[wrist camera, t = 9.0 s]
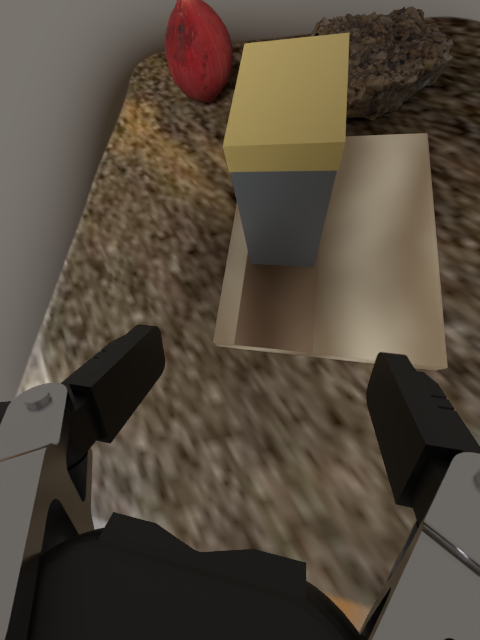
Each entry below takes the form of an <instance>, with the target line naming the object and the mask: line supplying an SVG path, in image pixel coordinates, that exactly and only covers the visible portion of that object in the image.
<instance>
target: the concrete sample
mask: <svg viewBox="0 0 480 640" xmlns="http://www.w3.org/2000/svg"><path fill="white" fill-rule="evenodd" d="M423 17H424V12H423V11H422V10H419V9H415V8H414V7H408V8H407V9H405V7H403V8H402V9H400V10H394V11H393V12H391V13H390V14H389V15H382V14H380V15H377V14H376V13H375V12H374V13H372V14H370V15H368V16H366V15H364V14H363V15H362V16H361V15H355V16H352V15H351V14H347V15H346V16H345V17H341V16H340V17H337V18H335V17H334V18H333V20H327V19H326V18H325V17H323V18H322V20H321V21H320V22H318V23H316V26H315V28H314V30H313V32H312V34H311V36H310V37H312V36H322V35H331V34H340V33H349V58H348V85H347V111H346V117H349V118H351V117H354V118H355V117H360V118H361V117H363V118H367V119H369V120H371V121H372V120H375V119H376V118H377V117H381V116H382V115H383V114H384V113H387V112H388V113H391V112H393V111H396V110H397V109H398V108H399V107H400V106H401V105H402V104H403V102H404V101H406V102H407V101H408V100H409V98H410V97H411V96H413V95H414V94H415V93H416V92H418V91H419V90H421V89H423V88H424V87H425V86H431V85H433V84H435V82H436V80H437V79H438V78H439V77H440V76H441V74H442V73H443V71H444V70H445V69H446V67H447V64H448V63H449V62H450V61H451V59H452V57H453V56H451V54H450V49H451V47H452V46H453V44H454V43H453V41H452V39H449V40H448V39H447V38H446V37H445V34H443V33H441V32H440V30H439V29H438V25H437V23H433V24H428V25H426V23H425V20H424V18H423Z"/></svg>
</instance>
